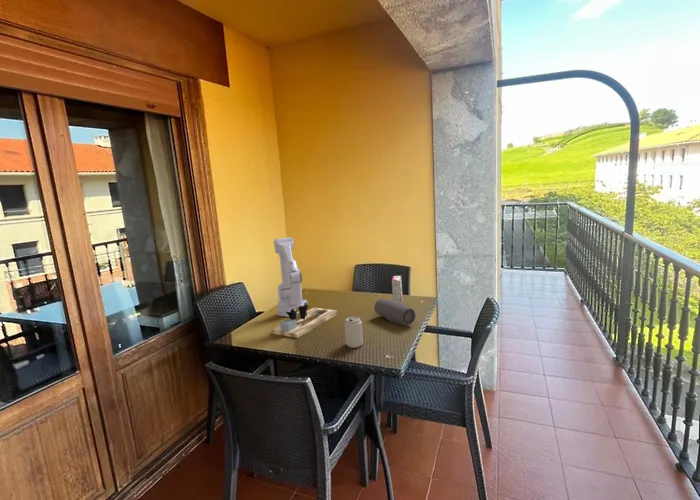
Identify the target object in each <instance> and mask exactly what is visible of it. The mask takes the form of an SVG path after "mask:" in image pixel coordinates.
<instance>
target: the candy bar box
mask: <svg viewBox="0 0 700 500" xmlns="http://www.w3.org/2000/svg"><path fill="white" fill-rule="evenodd" d="M402 284H403V283H402V275H393V276H392V279H391V289H392V291H391V292H392V301H393V302H397V303H400V304H402V305H404V301H403V285H402Z"/></svg>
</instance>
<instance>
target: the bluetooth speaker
mask: <svg viewBox="0 0 700 500" xmlns="http://www.w3.org/2000/svg"><path fill="white" fill-rule="evenodd" d="M373 308H374V311H375V313H376V314H378V315H379V316H381V317H383V318H386V320H387V321H389V322H390V323H392V324H395V325H405V326H410V325H413V323H414V322H415V319H416V312H415V309H413V308H411V307H409V306H407V305H405V304H400V303H397V302H393V300H390V299H386V298H379V299H377V300H376V301H375V304H374V307H373Z"/></svg>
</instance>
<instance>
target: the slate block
mask: <svg viewBox="0 0 700 500" xmlns="http://www.w3.org/2000/svg"><path fill="white" fill-rule="evenodd" d="M279 325H280V327H281V331H286V332H290V331H292V330H293V329H295V328H297V325H296V320H294V319H290V318H286V319H284V320H282V321H281V322H280V323H279Z"/></svg>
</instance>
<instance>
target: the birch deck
mask: <svg viewBox="0 0 700 500" xmlns="http://www.w3.org/2000/svg"><path fill="white" fill-rule="evenodd" d="M306 312H307V316H306V317H305V319H307V318H309V317H311V316H313V315H314V314H316V313H317V314H318V318H316V319H314V320H313V321H311V322H309V323H307V324H305V325H304V326H302V321H303V320H305V319H300V320H298V321H297V322H296V325H297V328H295V329H293V330H292V331H290V332H286V331H281V327H280V324H279V325H278V326H274V328H272V329H271V330H270V331H271V334H272V335H277V336H278V335H279V336H283V337H284V336H285V337H290V338H295V339H299V338H300V337H301V336H303V334H304V335H305V334H307V333H308V332H310V331H312V330H313V329H315V328H317V327H318V326H320V325H322V324H323V323H325V322H327V321H329V320H331V318H333V317H335V316H337V315H338V312H339V311H338V310H337V309H329V308H328V309H327V308H320V307H313V308H311V309H307V311H306Z"/></svg>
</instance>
